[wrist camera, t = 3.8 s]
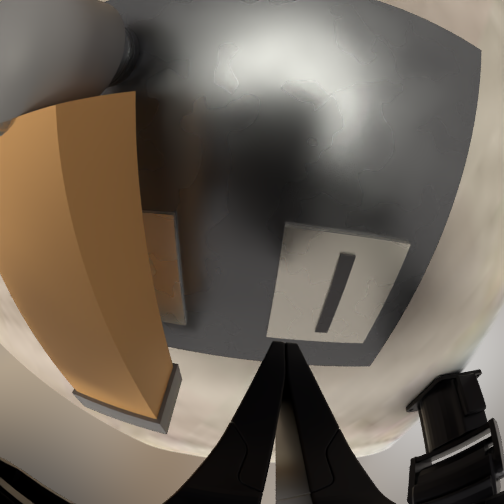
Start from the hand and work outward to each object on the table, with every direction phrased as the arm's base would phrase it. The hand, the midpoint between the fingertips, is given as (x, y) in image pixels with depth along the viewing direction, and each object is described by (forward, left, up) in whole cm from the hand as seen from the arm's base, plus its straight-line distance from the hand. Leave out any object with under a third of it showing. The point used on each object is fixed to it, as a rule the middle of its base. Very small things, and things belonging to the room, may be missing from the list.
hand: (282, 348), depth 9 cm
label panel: (+3, +2, -5) cm, 6 cm away
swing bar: (+2, +7, -1) cm, 7 cm away
